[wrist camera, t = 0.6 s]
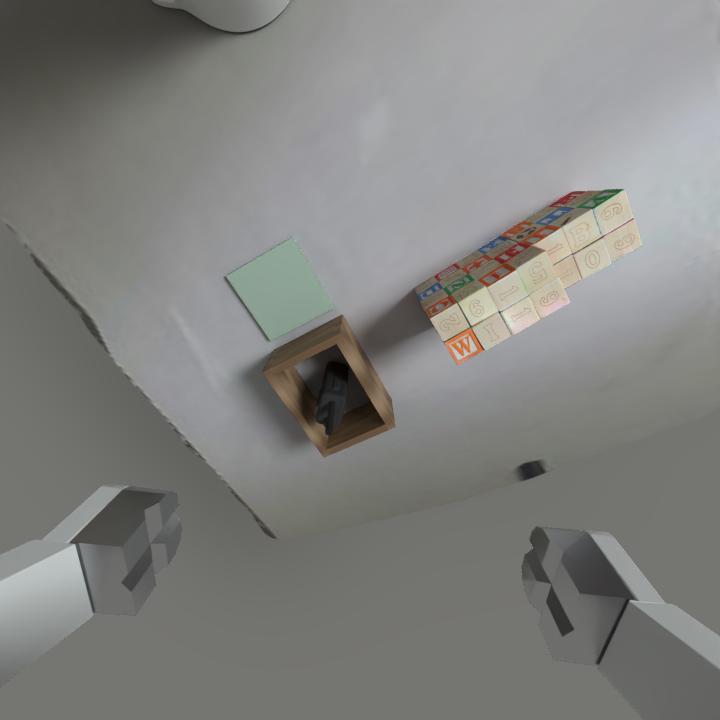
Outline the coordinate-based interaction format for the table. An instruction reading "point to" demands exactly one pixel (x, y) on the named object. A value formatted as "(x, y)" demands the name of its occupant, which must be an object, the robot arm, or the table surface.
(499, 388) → the table surface
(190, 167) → the table surface
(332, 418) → the walkie-talkie
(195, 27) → the table surface
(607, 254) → the stack of blocks
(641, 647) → the robot arm
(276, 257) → the place mat
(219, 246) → the table surface
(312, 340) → the access box
